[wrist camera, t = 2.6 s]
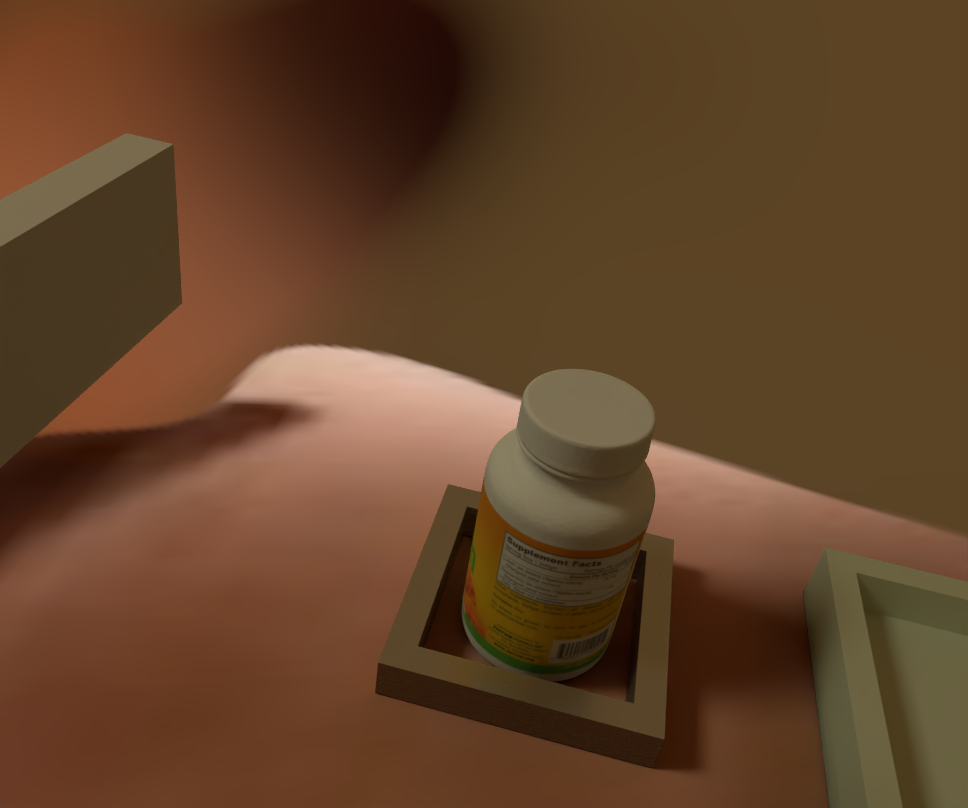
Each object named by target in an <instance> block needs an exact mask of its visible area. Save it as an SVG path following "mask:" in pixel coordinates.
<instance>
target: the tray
mask: <svg viewBox="0 0 968 808" xmlns="http://www.w3.org/2000/svg"><path fill="white" fill-rule="evenodd" d="M803 598H804V606H805V614H806V622H807V630H808V638H809V646H810V654H811V662H812V670H813V678H814V687H815V695H816V703H817V711H818V719H819V727H820V735H821V743H822V751H823V759H824V767H825V776H826V784H827V792H828V800H829V808H968V582H966V581H961V580H957V579H953V578H949V577H945V576H941V575H937V574H933V573H929V572H924V571H920V570H916V569H912V568H908V567H904V566H900V565H896V564H892V563H887V562H883V561H879V560H875V559H871V558H867V557H863V556H859V555H855V554H850V553H846V552H842V551H838V550H834V549H830V548H825V550H824V552H823V554H822V556H821V558H820V560H819V562H818V564H817V566H816V568H815V570H814V572H813V574H812V576H811V578H810V580H809V582H808V584H807V586H806V588H805V590H804V592H803Z"/></svg>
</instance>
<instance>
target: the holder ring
mask: <svg viewBox="0 0 968 808" xmlns="http://www.w3.org/2000/svg"><path fill="white" fill-rule="evenodd" d="M480 497H481V492H477V491H473V490H469V489H465V488H461V487H457V486H453V485H449V484H448V486H447V489H446V491H445V494H444V496H443V499H442V501H441V504H440V506H439V509H438V512H437V514H436V517H435V519H434V522H433V524H432V527H431V529H430V532H429V534H428V537H427V540H426V542H425V545H424V547H423V550H422V552H421V555H420V557H419V560H418V562H417V565H416V568H415V570H414V573H413V575H412V578H411V580H410V583H409V585H408V588H407V590H406V593H405V596H404V598H403V601H402V603H401V606H400V608H399V611H398V613H397V616H396V618H395V621H394V624H393V626H392V629H391V631H390V634H389V636H388V639H387V641H386V644H385V646H384V649H383V652H382V654H381V657H380V659H379V662H378V669H377V679H376V688H375V693H378V694H382V695H386V696H389V697H393V698H397V699H400V700H404V701H408V702H411V703H415V704H419V705H422V706H426V707H430V708H434V709H437V710H441V711H445V712H448V713H452V714H456V715H459V716H463V717H467V718H470V719H474V720H478V721H481V722H485V723H489V724H492V725H496V726H500V727H503V728H507V729H511V730H514V731H518V732H522V733H525V734H529V735H533V736H536V737H540V738H544V739H547V740H551V741H555V742H558V743H562V744H566V745H569V746H573V747H577V748H580V749H584V750H588V751H591V752H595V753H599V754H602V755H606V756H610V757H613V758H617V759H621V760H624V761H628V762H632V763H635V764H639V765H643V766H647V767H650V768H653V765H654V763H655V761H656V758H657V756H658V754H659V751H660V749H661V747H662V744H663V742H664V740H665V718H666V697H667V676H668V655H669V634H670V613H671V591H672V570H673V549H674V540H672V539H668V538H664V537H660V536H656V535H652V534H648V533H645V536H644V539H643V542H642V545H641V548H640V551H639V554H638V557H637V560H636V563H635V566H634V569H633V572H632V575H631V577H632V578H636V579H637V589H636V600H635V611H634V621H633V632H632V643H631V654H630V664H629V675H628V686H627V696H626V701H622V700H619V699H615V698H611V697H607V696H603V695H600V694H596V693H592V692H588V691H585V690H581V689H577V688H573V687H570V686H566V685H562V684H558V683H555V682H551V681H547V680H543V679H539V678H536V677H532V676H528V675H524V674H521V673H517V672H513V671H509V670H506V669H502V668H498V667H494V666H491V665H487V664H483V663H479V662H475V661H472V660H468V659H464V658H460V657H457V656H453V655H449V654H445V653H442V652H438V651H434V650H430V649H427V648H423V647H424V644H425V641H426V639H427V636H428V633H429V630H430V627H431V624H432V621H433V618H434V615H435V612H436V610H437V607H438V604H439V601H440V598H441V595H442V592H443V589H444V586H445V584H446V581H447V578H448V575H449V572H450V569H451V566H452V563H453V560H454V557H455V555H456V552H457V549H458V546H459V543H460V540H461V537H462V535H465V536H469V537H473V536H474V530H475V525H476V519H477V514H478V508H479V502H480Z"/></svg>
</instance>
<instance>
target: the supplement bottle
mask: <svg viewBox="0 0 968 808" xmlns="http://www.w3.org/2000/svg"><path fill="white" fill-rule="evenodd" d="M655 424H656V417H655V413H654V410H653V407H652V406H651V404H650V402H649V401H648V400H647V398H646V397H645V396H644V395H643V394H642V393H641V392H639V391H638V390H637V389H635V388H634V387H632V386H631V385H629V384H628V383H626V382H624V381H622V380H620V379H617V378H615V377H613V376H610V375H607V374H604V373H600V372H595V371H590V370H583V369H562V370H555V371H551V372H548V373H545V374H543V375H541V376H539V377H537V378H535V379H534V380H533V381H532V382H531V383H530V384H529V385H528V386H527V388H526V390H525V392H524V395H523V399H522V403H521V408H520V412H519V418H518V423H517V428H516V429H514V430H513V431H511V432H509V433H508V434H507V435H505V436H504V437H503V438H502V439H501V440H500V441H499V442H498V443H497V444H496V446H495V447H494V449H493V450H492V452H491V454H490V456H489V459H488V462H487V466H486V470H485V475H484V480H483V486H482V491H481V497H480V502H479V508H478V514H477V519H476V525H475V530H474V536H473V541H472V547H471V553H470V559H469V564H468V570H467V576H466V582H465V587H464V593H463V601H462V621H463V626H464V629H465V632H466V634H467V636H468V638H469V640H470V642H471V643H472V645H473V646H474V648H475V649H476V650H477V651H478V653H479V654H480V655H481V656H482V657H483V658H484V659H485V660H487V661H488V662H489V663H490V664H492V665H493V666H495V667H498V668H502V669H506V670H509V671H513V672H517V673H521V674H524V675H528V676H532V677H536V678H539V679H543V680H547V681H551V682H554V681H563V680H567V679H571V678H574V677H576V676H579V675H581V674H583V673H584V672H586V671H588V670H589V669H591V668H592V667H593V666H594V665H595V664H596V663H597V662H598V661H599V660H600V659H601V657H602V656H603V654H604V653H605V651H606V649H607V647H608V644H609V642H610V639H611V636H612V634H613V631H614V628H615V625H616V622H617V618H618V615H619V612H620V609H621V606H622V603H623V600H624V597H625V594H626V591H627V588H628V585H629V582H630V578H631V575H632V572H633V569H634V566H635V563H636V560H637V557H638V554H639V551H640V548H641V545H642V542H643V539H644V536H645V533H646V530H647V527H648V524H649V521H650V518H651V514H652V511H653V507H654V502H655V485H654V481H653V477H652V474H651V471H650V469H649V467H648V466H647V464H646V462H645V461H644V460H645V459H646V457H647V455H648V452H649V448H650V443H651V440H652V436H653V432H654V429H655Z"/></svg>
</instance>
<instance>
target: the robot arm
mask: <svg viewBox="0 0 968 808" xmlns="http://www.w3.org/2000/svg"><path fill="white" fill-rule="evenodd" d="M179 258H180V256H179V239H178V219H177V201H176V183H175V166H174V146H173V144H171V143H166V142H162V141H157V140H153V139H149V138H145V137H140V136H136V135H132V134H127V133H126V134H124V135H122V136H120V137H118V138H117V139H115V140H113V141H111V142H109V143H107V144H105V145H103V146H101V147H100V148H98V149H96V150H94V151H92V152H90V153H88V154H86V155H84V156H82V157H81V158H79V159H77V160H75V161H73V162H71V163H69V164H67V165H65V166H63V167H61V168H60V169H58V170H56V171H54V172H52V173H50V174H48V175H46V176H44V177H43V178H41V179H39V180H37V181H35V182H33V183H31V184H29V185H27V186H25V187H23V188H22V189H20V190H18V191H16V192H14V193H12V194H10V195H8V196H6V197H4V198H2V199H1V200H0V467H2V466H3V465H4V464H5V463H6V462H7V461H8V460H9V459H10V458H11V457H13V456H14V455H15V454H16V453H17V452H18V451H19V450H20V449H21V448H23V447H24V446H25V445H26V444H27V443H28V442H29V441H30V440H31V439H32V438H34V437H35V436H36V435H37V434H38V433H39V432H40V431H41V430H42V429H44V428H45V427H46V426H47V425H48V424H49V423H50V422H51V421H52V420H53V419H54V418H56V417H57V416H58V415H59V414H60V413H61V412H62V411H63V410H64V409H65V408H67V407H68V406H69V405H70V404H71V403H72V402H73V401H74V400H76V399H77V398H78V397H79V396H80V395H81V394H82V393H83V392H84V391H86V390H87V389H88V388H89V387H90V386H91V385H92V384H93V383H94V382H95V381H96V380H98V379H99V378H100V377H101V376H102V375H103V374H104V373H105V372H106V371H108V370H109V369H110V368H111V367H112V366H113V365H114V364H115V363H116V362H117V361H119V360H120V359H121V358H122V357H123V356H124V355H125V354H126V353H127V352H129V350H131V349H132V348H133V347H134V346H135V345H136V344H137V343H139V342H140V341H141V340H142V339H143V338H144V337H145V336H146V335H147V334H148V333H149V332H151V331H152V330H153V329H154V328H155V327H156V326H157V325H158V324H160V323H161V322H162V321H163V320H164V319H165V318H166V317H167V316H168V315H169V314H170V313H172V312H173V311H174V310H175V309H176V308H177V307H178V306H179V305H181V304H182V295H181V277H180V276H181V275H180V259H179Z"/></svg>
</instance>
